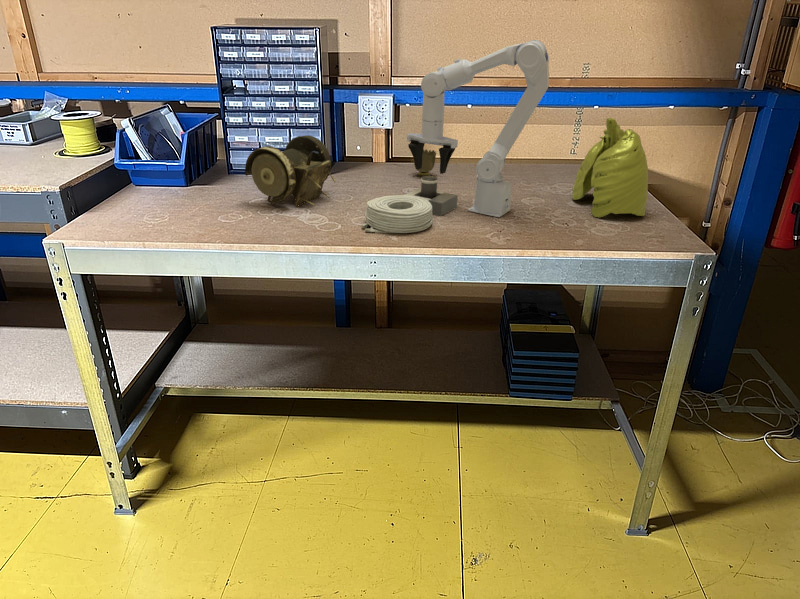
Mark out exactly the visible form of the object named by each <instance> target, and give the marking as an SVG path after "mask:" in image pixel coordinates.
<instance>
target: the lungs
mask: <svg viewBox="0 0 800 599" xmlns="http://www.w3.org/2000/svg"><path fill="white" fill-rule="evenodd" d="M605 124H606V125H605V127H606V129H604V130H603V134H604V135H603V136H599V139H601V140H599V141H598V142H597V143H595V144H594V145H593V146H592V147H591V148H590V149H589V150H588V151H587V153H586V155H585V156H584V160H583V161H582V162H581V164H580V167H579V168H578V171H577V173H576V176H575V179H574V184H573V186H572V196H571V198H572V199H573V200H574V201H577V200H580V199H582V198H584V197H585V195H586V194H588V193H589V192H590V191H591V190H592V189H593V191H592V192H593V193H592V197H593V201H592V208H591V211H590V212H591V215H592V216H593V217H594V218H596V217H598V218H597V219H599V218H600V219H601V218H604V217H606V216H607V215H609V214H614V215H619V214H624V215H625V214H632V215H635V216H638V217H639V216H641V217H645V214H646V207H647V200H648V188H649V166H648V161H647V160H648V159H647V156H646V153H645V152H646V151H645V149H644V147H643V145H642V140H641V137H640V134H638V133H637V132H636V131H634V130H633V129H630V128H629V129H626V130H625V131H624V129H621V125H619V124H618V123H617V120H616V119H615V118H612V117H608V118H606V122H605Z"/></svg>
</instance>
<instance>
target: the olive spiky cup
mask: <svg viewBox="0 0 800 599" xmlns="http://www.w3.org/2000/svg"><path fill="white" fill-rule="evenodd" d="M436 157H437V152H436V151H435V150H434V149H433V150H431V149H429V150H428V149H427V148H426V149H425V148H424V149H423V155H422V168H420V169H416V167H415V162H414V161H413V163H414V164H413V165H414V168H415V169H416V171H418V173H417V174H418V176H419V177H421V178H422V177H423V176H430V172H431V171H432V170H433V169H434V167H435V163H436Z"/></svg>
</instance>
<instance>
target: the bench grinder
mask: <svg viewBox="0 0 800 599" xmlns="http://www.w3.org/2000/svg"><path fill="white" fill-rule="evenodd" d="M331 169H332V158H331V155H330V152H329V149H328V148H327V146H326V145H325V143H323V141H322V140H320V139H319V138H317V137H316V136H313V135H299V136H296V137H293V138H292V139H291V140H289V142H287V145H286V146H285V149H284V150H280V149H279V148H277V147H274V146H271V145H270V146H269V145H267V146H266V145H265V146H261V147H259V148H257V149H255V150H253V151H251V153H250V154H249V155H248V157H247V158H246V162H245V167H244V175H245V176H249V175H251V176H252V180H253V182H254V185H255V186H256V187H257V189H258V190H259V191H260V192H261V193H262V194H263V195H265V196H268V197H267V201H268V203H270V204H272V203H273V204H277V203H279V202H283V201H286V200H288V199H289V198H290V197H291V196H293V198H294V202H293V205H294V206H295V207H299V206H301V205H303V204H302V203H304V202H306V203H308V204H310V205H312V206H315V203H313V202H311V201H312V200H314V199H315V197H316V198H318V197H320V195H321V193H323V195H325V196H326V197H327V198H330V196H329V195H328V194H327V193H326V192H325V191H323V186H324V183H325V181H326V180H327V179H328V178H329V176H330V178H331V179H332V181H333V182H334V183H335V182H336V180H335V178H334V176H332V174H331ZM317 196H318V197H317ZM313 198H314V199H313ZM311 199H312V200H311ZM309 200H310V201H309ZM300 204H301V205H300ZM304 204H305V203H304ZM298 205H299V206H298Z"/></svg>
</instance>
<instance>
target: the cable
mask: <svg viewBox="0 0 800 599" xmlns="http://www.w3.org/2000/svg"><path fill="white" fill-rule="evenodd" d="M364 215H365V217H364V218H365V222H366V223H362V224H361V228H363V229H364V231H365V232H367V233H372V232H375V234H378V233H379V234H381V233H382V234H409V233H410V234H411V233H417V232H421V231H425V230H427V229H429V228H430V227H431V226H432V225H433V222H434V220H433V218H434V217H433V214H432V205H431V203H430V202H429V201H427V200H425V199H423V198H420V197H416V196H405V194H401V195H400V194H399V195H386V196H385V195H384V196H380V197H376V198H373V199H371V200H368V201H367V202H366V209H365V213H364ZM369 226H370V228H367V227H369Z"/></svg>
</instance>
